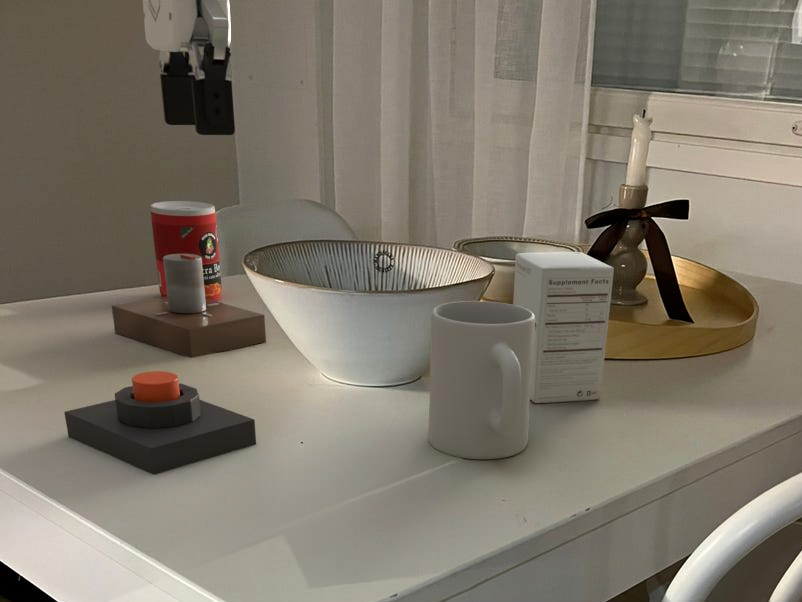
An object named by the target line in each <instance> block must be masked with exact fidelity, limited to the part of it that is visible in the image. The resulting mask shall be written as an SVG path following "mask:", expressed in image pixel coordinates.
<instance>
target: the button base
mask: <svg viewBox="0 0 802 602" xmlns="http://www.w3.org/2000/svg"><path fill="white" fill-rule="evenodd" d="M179 390H180V398H178V399H174V400H170V401H164V402H143V401H137V400H135V399H134V393H133V385H130V386H126V387H122V388H121V389H120V390H119V391H116V392H114V399H113V400H109V401H104V402H100V403H95V404H91V405H87V406H83V407H78V408H74V409H71V410H70V409H69V410H66V411H64V412H63V414H64V419H65V424H66V430H67V431H66V432H67V436H68V438H70V439H72V440H74V441H76V442H79V443H81V444H84V445H85V446H88V447H90V448H93V449H95V450H97V451H99V452H102V453H104V454H106V455H108V456H110V457H113V458H115V459H118V460H120V461H122V462H124V463H126V464H128V465H131V466H133V467H136V468H138V469H139V470H142V471H144V472H147V473H149V474H151V475H158V474H161V473H165V472H168V471H171V470H175V469H178V468H181V467H185V466H188V465H192V464H195V463H199V462H202V461H205V460H209V459H212V458H216V457H217V456H222V455H226V454H228V453H232V452H235V451H238V450H242V449H246V448H249V447H252V446H255V445H257V436H256V421H255V418H251V417H249V416H246V415H244V414H240V413H237V412H235V411H233V410H229V409H227V408H224V407H221V406H220V405H219V406H218V405H216V404H213V403H211V402H207V401H205V400H202V399H200V394H199V391H198V389H197V388H196V387H192V386H189V385H187V384H184V383H179Z"/></svg>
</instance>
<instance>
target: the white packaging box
mask: <svg viewBox="0 0 802 602" xmlns="http://www.w3.org/2000/svg"><path fill="white" fill-rule="evenodd" d="M514 262H515V264H514V282H513V284H514V285H513V296H512V305H516V306H520V307H523V308H526V309H528V310H530V311H531V312H532V313H533V314H534V317H535V328H534V343H533V358H532V373H531V388H530V400H531V401H532V403H534V404H545V403H547V404H549V403H565V402H583V401H595V400H599V399H601V395H602V386H603V385H602V384H603V376H604V366H605V356H606V348H607V347H606V346H607V339H608V337H607V336H608V328H609V318H610V310H611V302H612V301H611V300H612V290H613V282H614V272H615V271H614V270H615V268H614V266H611V265H609V264H606V263H604V262H602V261H601V260H598V259H596V258H595V257H592V256H590V255H588V254H586V253H584V252H582V251H581V252H580V251H553V252H552V251H551V252H550V251H547V252H518V253H516V254H515V261H514Z"/></svg>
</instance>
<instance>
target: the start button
mask: <svg viewBox="0 0 802 602" xmlns="http://www.w3.org/2000/svg"><path fill="white" fill-rule="evenodd" d="M131 384H132V385H131V386H133V393H134V399H135V400H137V401H143V402H164V401H170V400H174V399H178V398H180V390H179V384H180V382H179V376H178V375H177V374H176V373H173V372H169V371H161V370H160V371H158V370H157V371H156V370H155V371H154V370H153V371H145V372H140V373H137V374H135V375H133V376H132V377H131Z"/></svg>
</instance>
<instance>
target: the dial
mask: <svg viewBox="0 0 802 602" xmlns="http://www.w3.org/2000/svg"><path fill="white" fill-rule="evenodd" d="M163 262H164V271H165V280H166V289H167V298H168V307H169V311H171V312H174V313H182V314H191V313H199V312H203V311H205V310H206V300H205V289H204V278H203V267H202V258H201V256H198V255H194V254H171V255H166V256H164V257H163Z"/></svg>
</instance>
